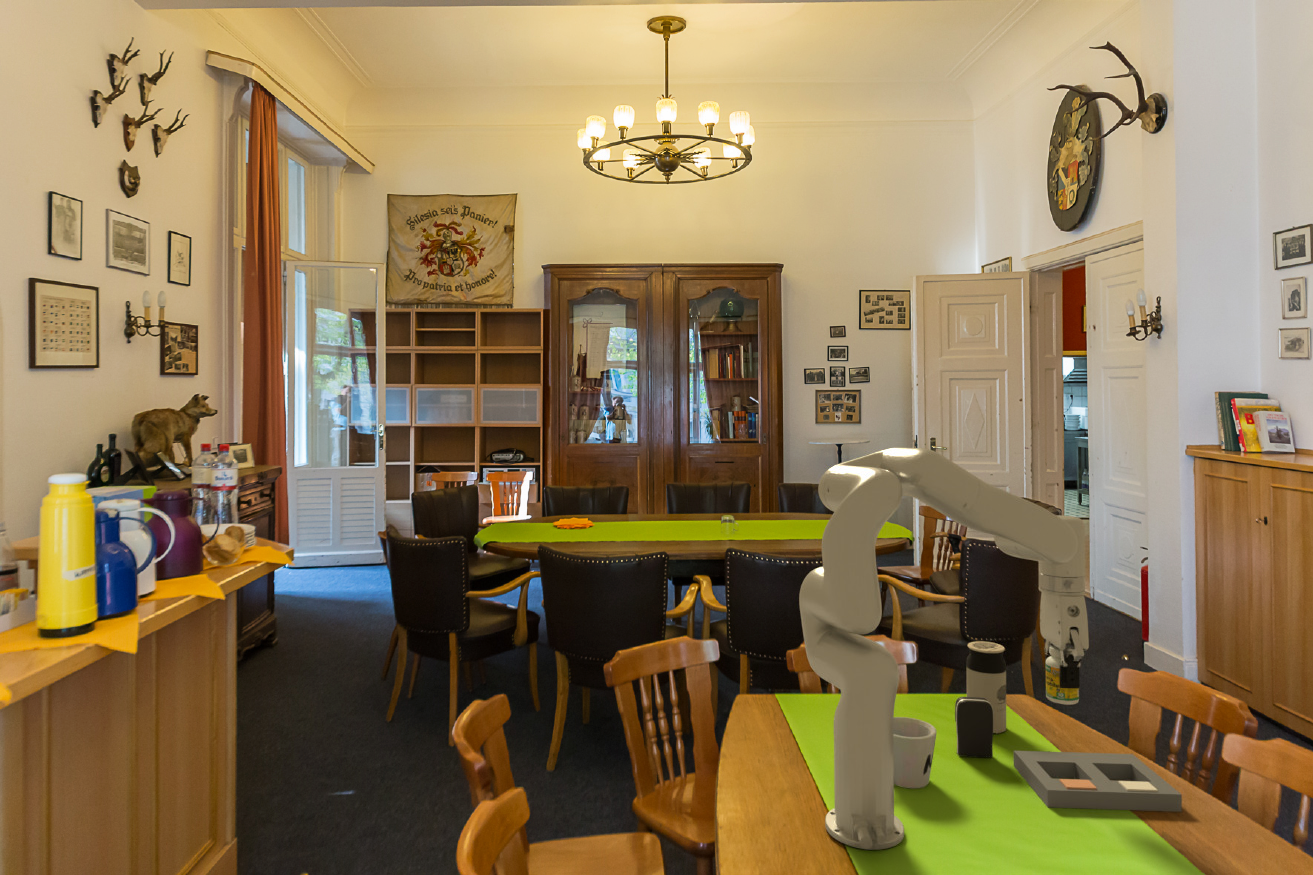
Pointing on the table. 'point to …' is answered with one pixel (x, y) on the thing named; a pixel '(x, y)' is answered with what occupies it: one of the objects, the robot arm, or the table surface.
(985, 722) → the battery charger
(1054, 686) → the supplement bottle
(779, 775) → the table surface
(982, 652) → the travel mug
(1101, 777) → the socket board
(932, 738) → the mug
